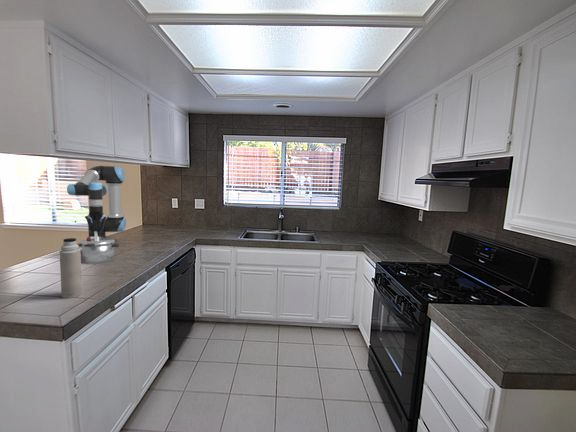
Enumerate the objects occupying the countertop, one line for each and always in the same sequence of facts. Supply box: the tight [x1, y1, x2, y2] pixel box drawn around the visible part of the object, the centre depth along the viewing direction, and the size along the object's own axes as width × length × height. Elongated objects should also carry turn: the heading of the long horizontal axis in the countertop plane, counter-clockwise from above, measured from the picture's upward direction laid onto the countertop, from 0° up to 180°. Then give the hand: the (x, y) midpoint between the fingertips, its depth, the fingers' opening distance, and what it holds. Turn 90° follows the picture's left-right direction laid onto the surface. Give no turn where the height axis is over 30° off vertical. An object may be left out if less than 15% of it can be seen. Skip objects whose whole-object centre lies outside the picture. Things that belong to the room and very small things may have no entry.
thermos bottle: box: [59, 237, 83, 299], centre depth 139 cm, size 8×8×28 cm
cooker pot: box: [76, 242, 120, 265], centre depth 197 cm, size 18×25×12 cm
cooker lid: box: [80, 237, 116, 247], centre depth 194 cm, size 23×19×4 cm
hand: (96, 240), depth 194 cm, fingers closed
